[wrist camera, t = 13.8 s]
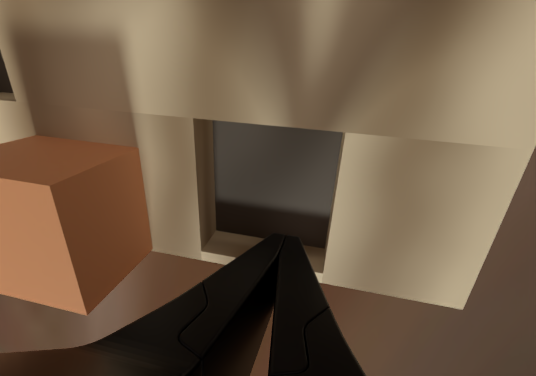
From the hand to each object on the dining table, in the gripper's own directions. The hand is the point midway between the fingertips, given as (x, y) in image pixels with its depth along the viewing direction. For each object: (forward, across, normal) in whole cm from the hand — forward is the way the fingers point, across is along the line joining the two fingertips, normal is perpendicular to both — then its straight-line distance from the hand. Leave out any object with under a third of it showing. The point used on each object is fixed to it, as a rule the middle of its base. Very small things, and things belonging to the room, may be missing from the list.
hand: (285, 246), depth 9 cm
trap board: (+4, +10, -3) cm, 11 cm away
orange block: (+2, +9, +1) cm, 9 cm away
